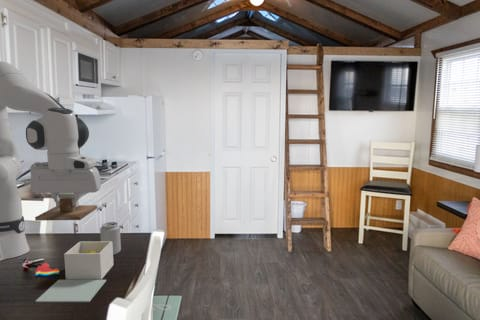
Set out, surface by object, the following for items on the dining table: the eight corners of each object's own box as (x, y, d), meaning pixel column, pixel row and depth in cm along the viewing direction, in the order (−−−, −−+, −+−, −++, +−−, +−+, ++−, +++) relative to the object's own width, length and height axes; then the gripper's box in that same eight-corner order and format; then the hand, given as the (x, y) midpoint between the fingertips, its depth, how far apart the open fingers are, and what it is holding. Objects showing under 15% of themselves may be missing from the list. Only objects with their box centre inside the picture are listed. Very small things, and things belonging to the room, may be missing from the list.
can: (124, 249, 151) (122, 221, 150) (116, 256, 144) (114, 227, 142) (106, 249, 152) (105, 220, 150) (97, 256, 144) (96, 226, 143)
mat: (35, 302, 109) (35, 301, 109) (58, 280, 123) (58, 279, 123) (89, 302, 109) (89, 300, 109) (106, 280, 123) (106, 279, 123)
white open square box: (65, 279, 124) (64, 254, 123) (81, 264, 136) (79, 241, 135) (101, 279, 124) (100, 253, 123) (113, 264, 136) (112, 241, 135)
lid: (35, 220, 107) (33, 203, 106) (57, 208, 119) (56, 193, 119) (80, 220, 107) (78, 203, 106) (97, 208, 119) (96, 193, 119)
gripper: (23, 163, 108) (27, 209, 109) (93, 163, 108) (96, 209, 109) (35, 161, 114) (39, 204, 116) (101, 160, 114) (104, 203, 116)
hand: (67, 206), depth 113 cm, fingers closed on lid, 3 cm apart
